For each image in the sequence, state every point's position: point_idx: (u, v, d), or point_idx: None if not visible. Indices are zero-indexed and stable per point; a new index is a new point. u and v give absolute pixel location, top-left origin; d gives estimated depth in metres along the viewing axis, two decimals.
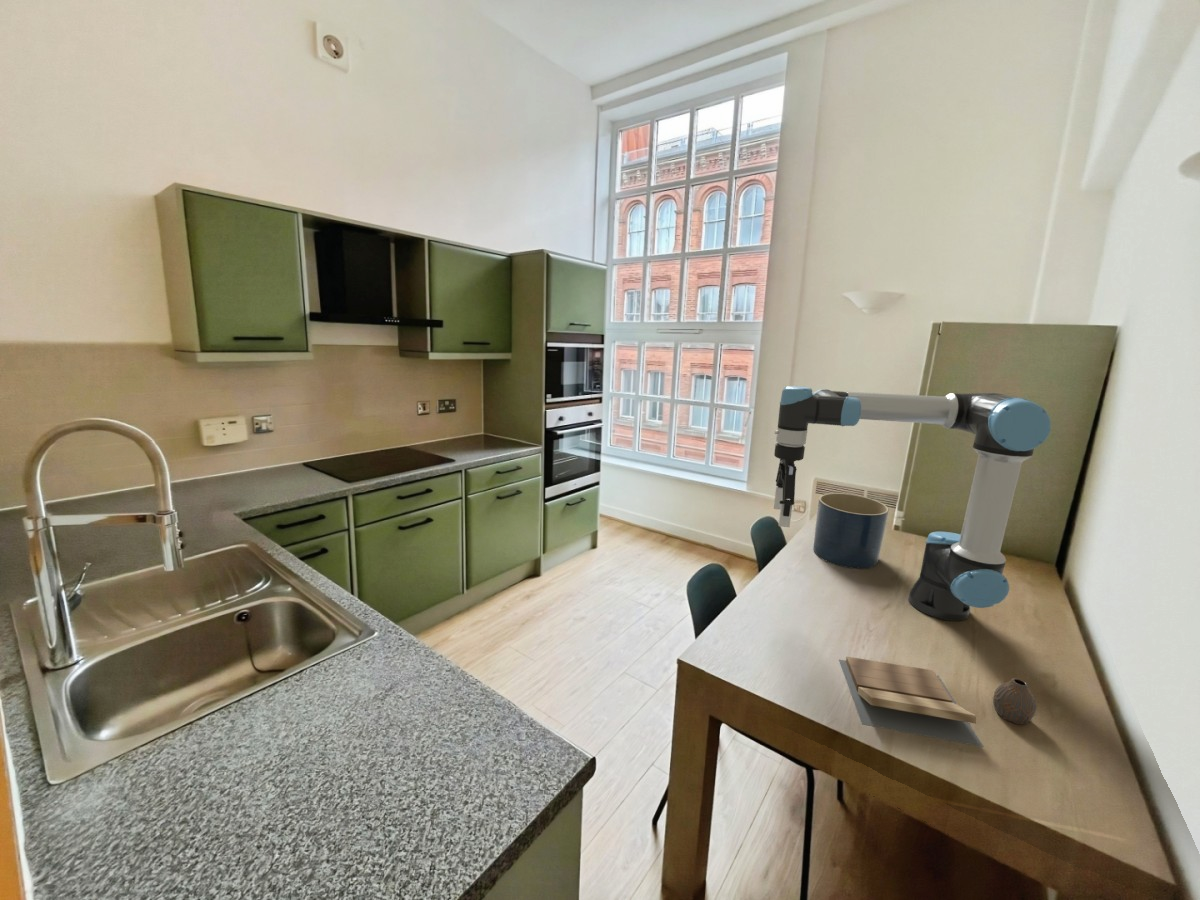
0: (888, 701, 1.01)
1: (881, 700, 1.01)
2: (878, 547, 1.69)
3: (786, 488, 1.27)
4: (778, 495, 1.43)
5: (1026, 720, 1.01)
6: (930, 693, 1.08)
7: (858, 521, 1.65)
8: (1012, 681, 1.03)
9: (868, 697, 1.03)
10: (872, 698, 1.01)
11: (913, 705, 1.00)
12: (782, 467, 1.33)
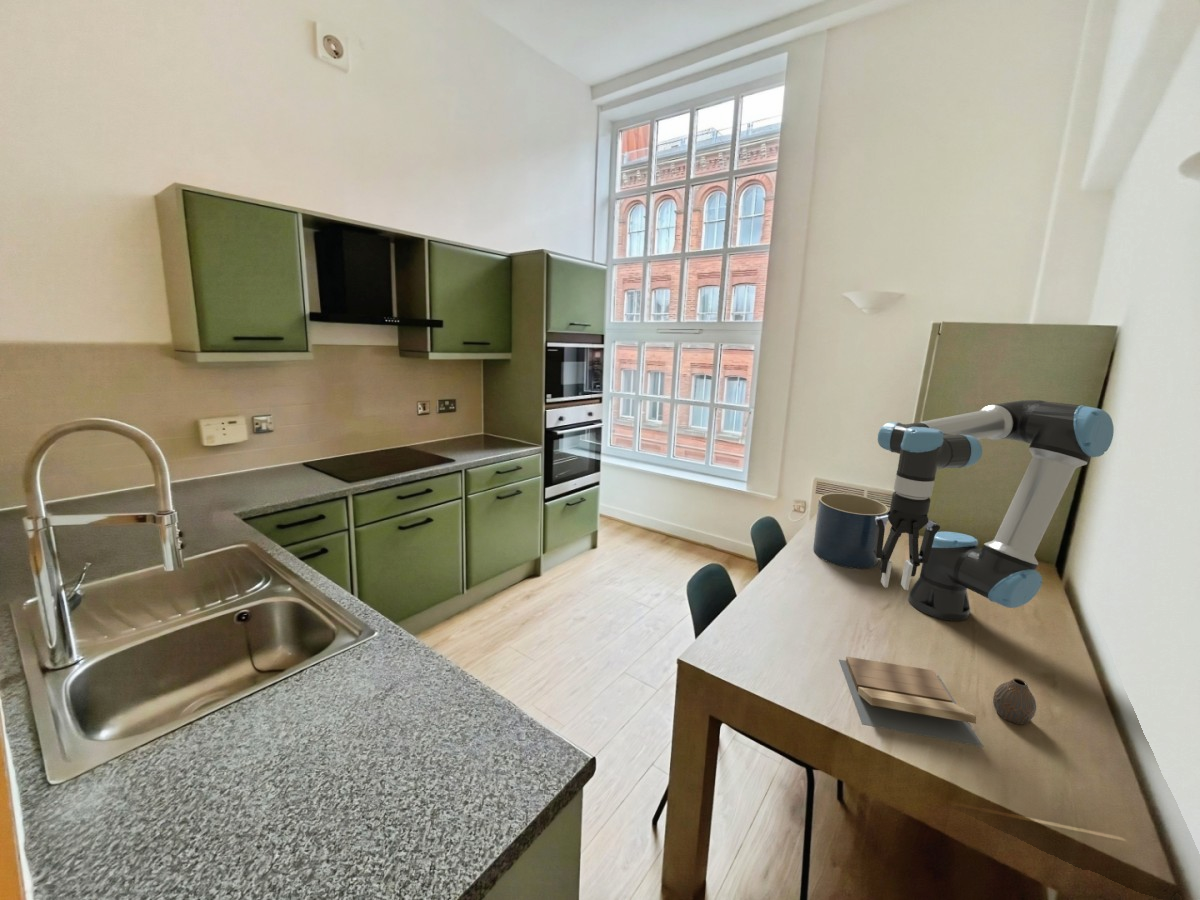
0: (888, 701, 1.01)
1: (881, 700, 1.01)
2: None
3: (875, 538, 1.18)
4: (905, 569, 1.18)
5: (1026, 720, 1.01)
6: (930, 693, 1.08)
7: (858, 521, 1.65)
8: (1012, 681, 1.03)
9: (868, 697, 1.03)
10: (872, 698, 1.01)
11: (913, 705, 1.00)
12: None
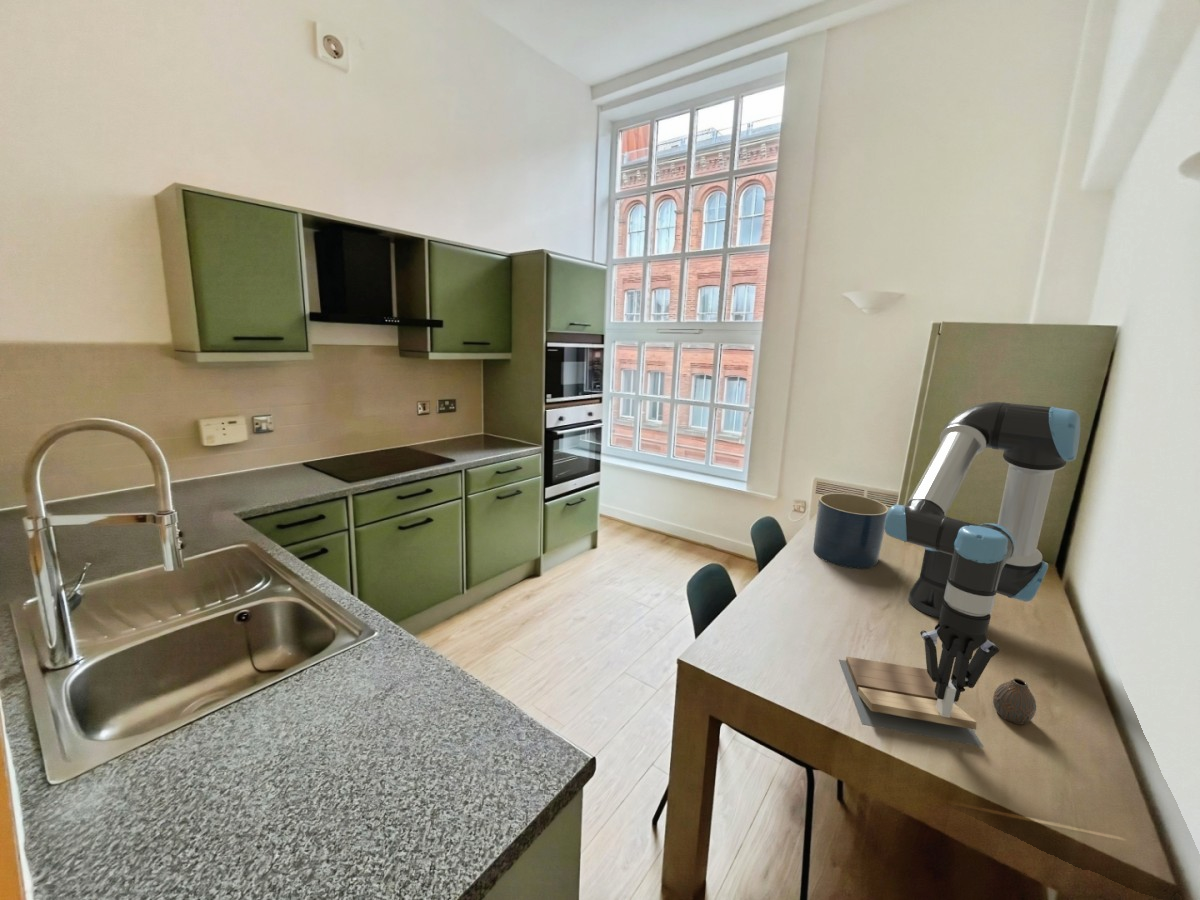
0: (888, 707, 1.00)
1: (881, 706, 1.01)
2: (878, 547, 1.69)
3: (926, 657, 0.98)
4: None
5: (1026, 720, 1.01)
6: (930, 693, 1.08)
7: (858, 521, 1.65)
8: (1012, 681, 1.03)
9: (868, 702, 1.03)
10: (872, 704, 1.01)
11: (913, 711, 0.99)
12: None
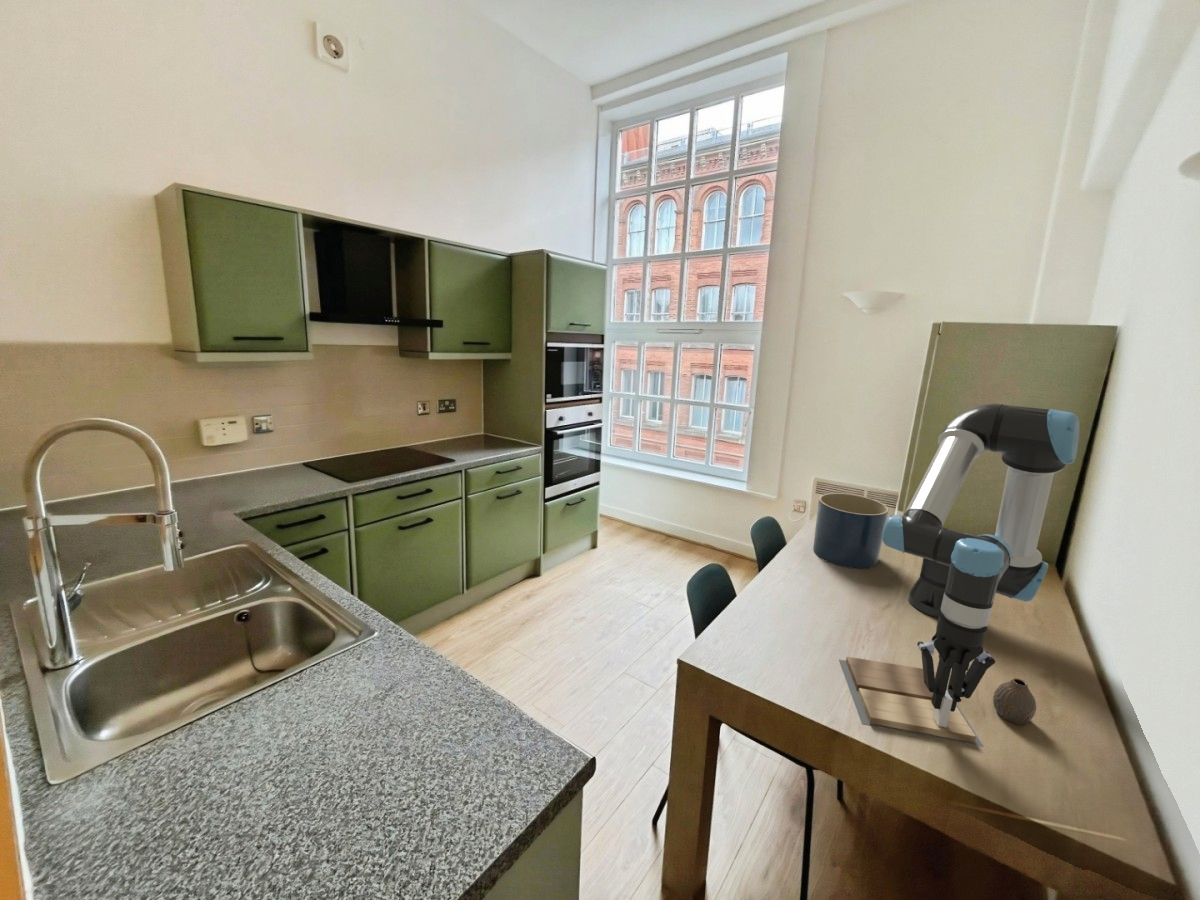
0: (887, 721, 1.00)
1: (880, 720, 1.00)
2: (878, 547, 1.69)
3: (923, 667, 0.99)
4: None
5: (1026, 720, 1.01)
6: (930, 693, 1.08)
7: (858, 521, 1.65)
8: (1012, 681, 1.03)
9: (867, 712, 1.03)
10: (871, 718, 1.01)
11: (912, 725, 0.99)
12: None
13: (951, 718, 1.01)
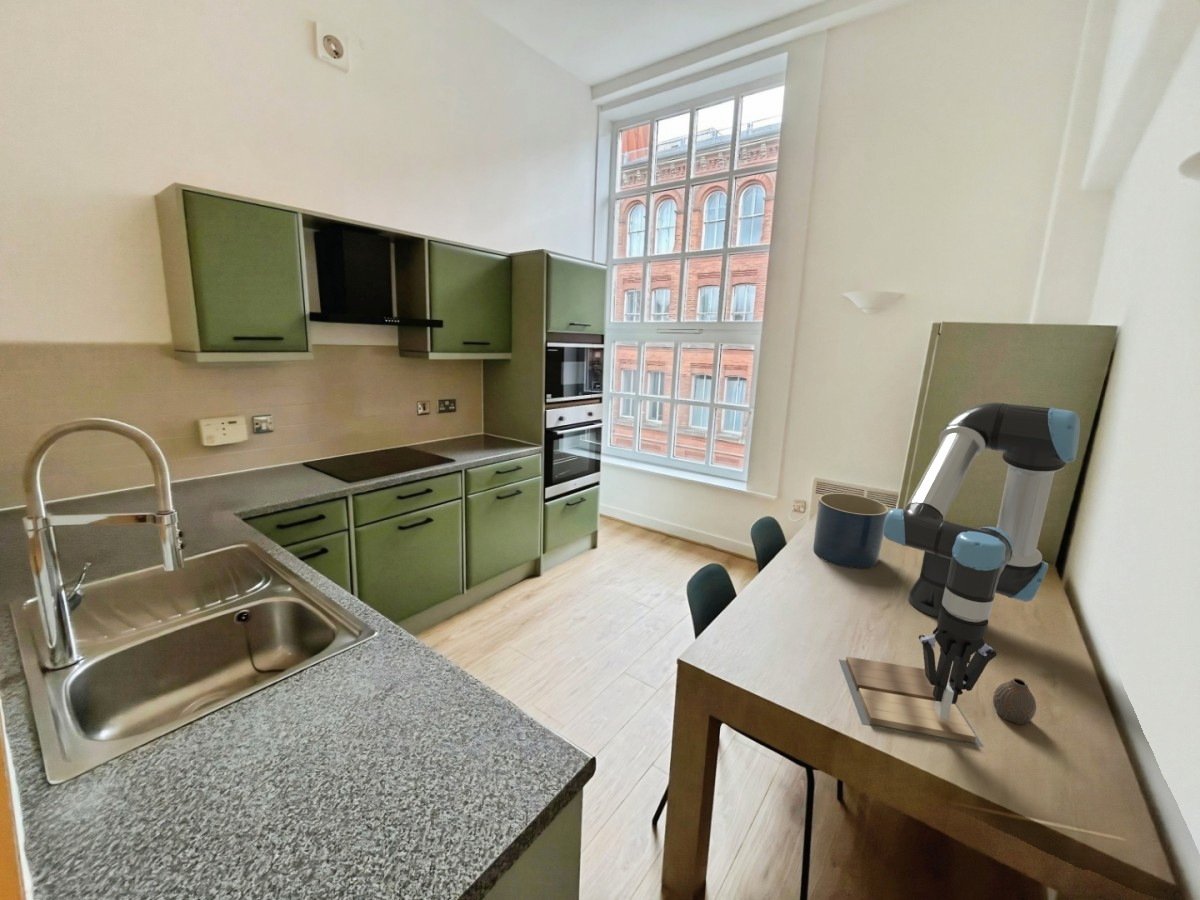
0: (887, 721, 1.00)
1: (880, 720, 1.00)
2: (878, 547, 1.69)
3: (924, 660, 0.99)
4: None
5: (1026, 720, 1.01)
6: (930, 693, 1.08)
7: (859, 521, 1.65)
8: (1012, 681, 1.03)
9: (867, 713, 1.03)
10: (871, 718, 1.01)
11: (912, 725, 0.99)
12: None
13: (951, 718, 1.01)
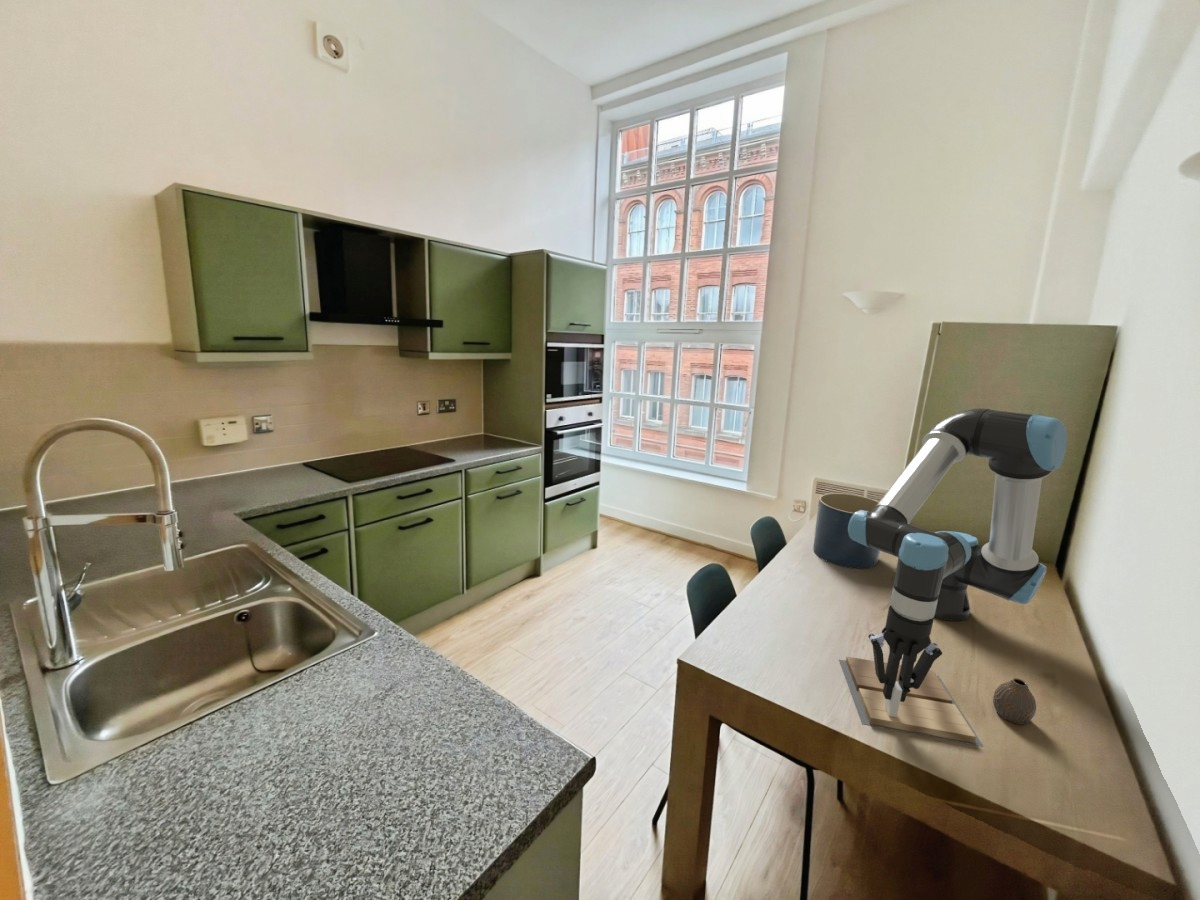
0: (887, 721, 1.00)
1: (880, 720, 1.00)
2: None
3: (874, 659, 1.01)
4: None
5: (1026, 720, 1.01)
6: (930, 693, 1.08)
7: None
8: (1012, 681, 1.03)
9: (867, 713, 1.03)
10: (871, 718, 1.01)
11: (912, 725, 0.99)
12: None
13: (951, 718, 1.01)
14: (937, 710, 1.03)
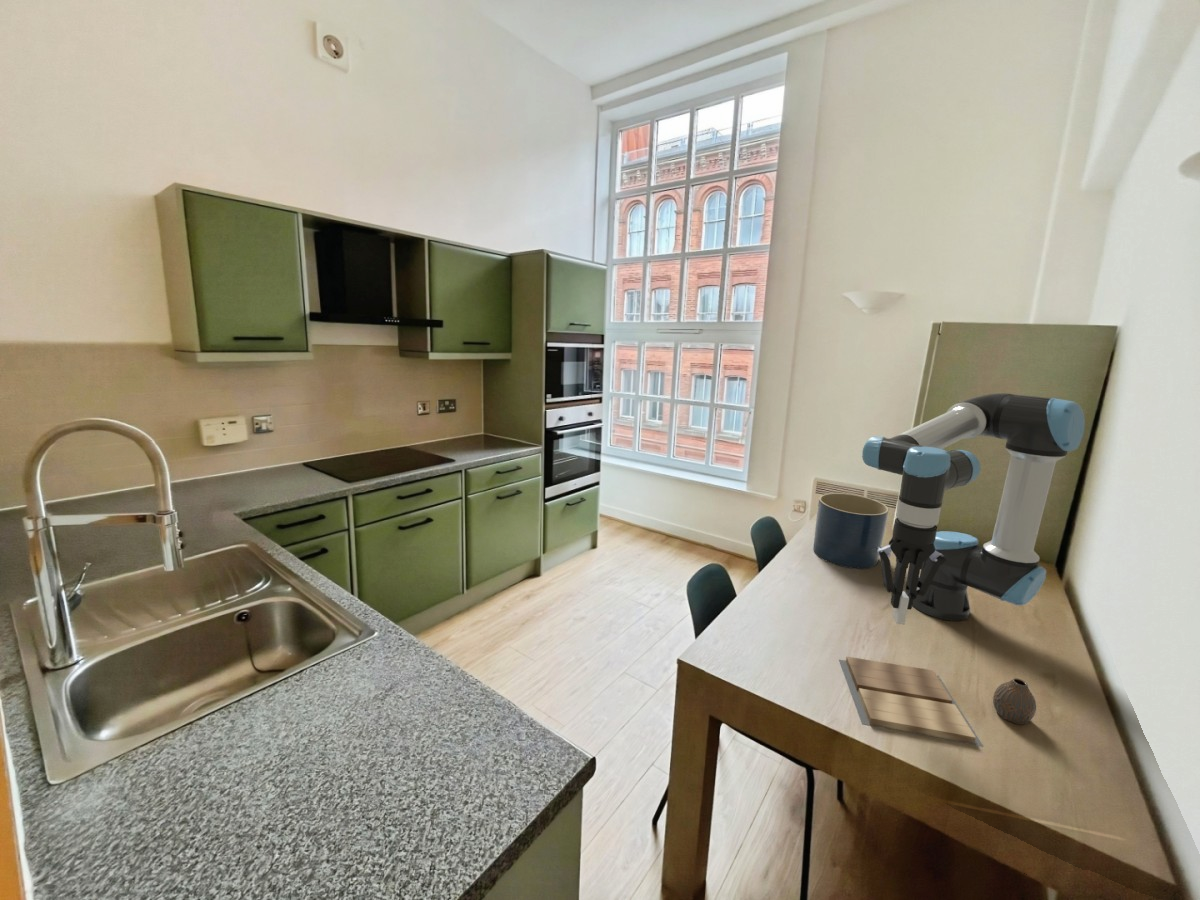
0: (887, 722, 1.00)
1: (880, 721, 1.00)
2: None
3: (882, 571, 1.07)
4: None
5: (1026, 720, 1.01)
6: (930, 693, 1.08)
7: (859, 521, 1.65)
8: (1012, 681, 1.03)
9: (867, 713, 1.03)
10: (871, 719, 1.01)
11: (912, 726, 0.99)
12: None
13: (951, 719, 1.01)
14: (937, 710, 1.03)
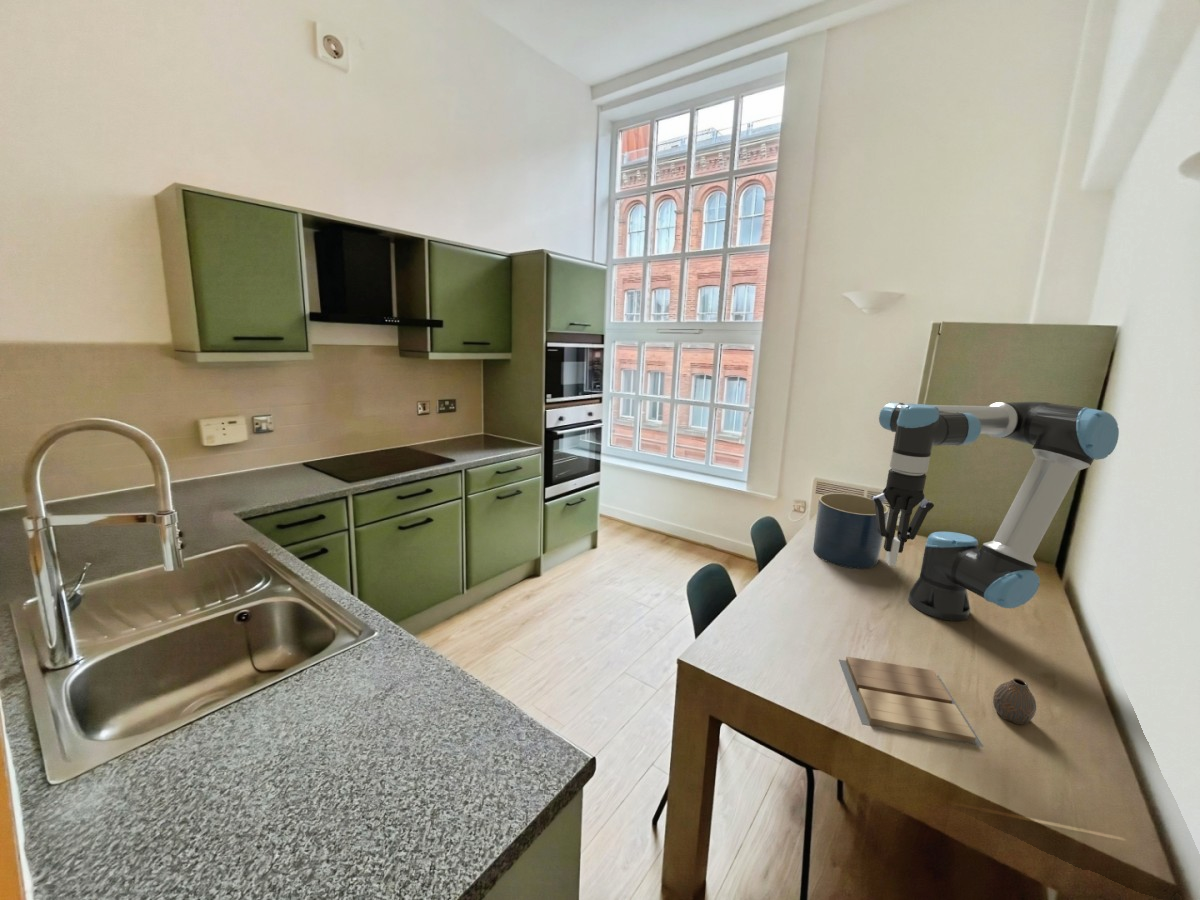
0: (887, 722, 1.00)
1: (880, 721, 1.00)
2: (878, 547, 1.69)
3: (876, 517, 1.19)
4: None
5: (1026, 720, 1.01)
6: (930, 693, 1.08)
7: (858, 521, 1.65)
8: (1012, 681, 1.03)
9: (867, 713, 1.03)
10: (871, 719, 1.01)
11: (912, 726, 0.99)
12: None
13: (951, 719, 1.01)
14: (937, 710, 1.03)
